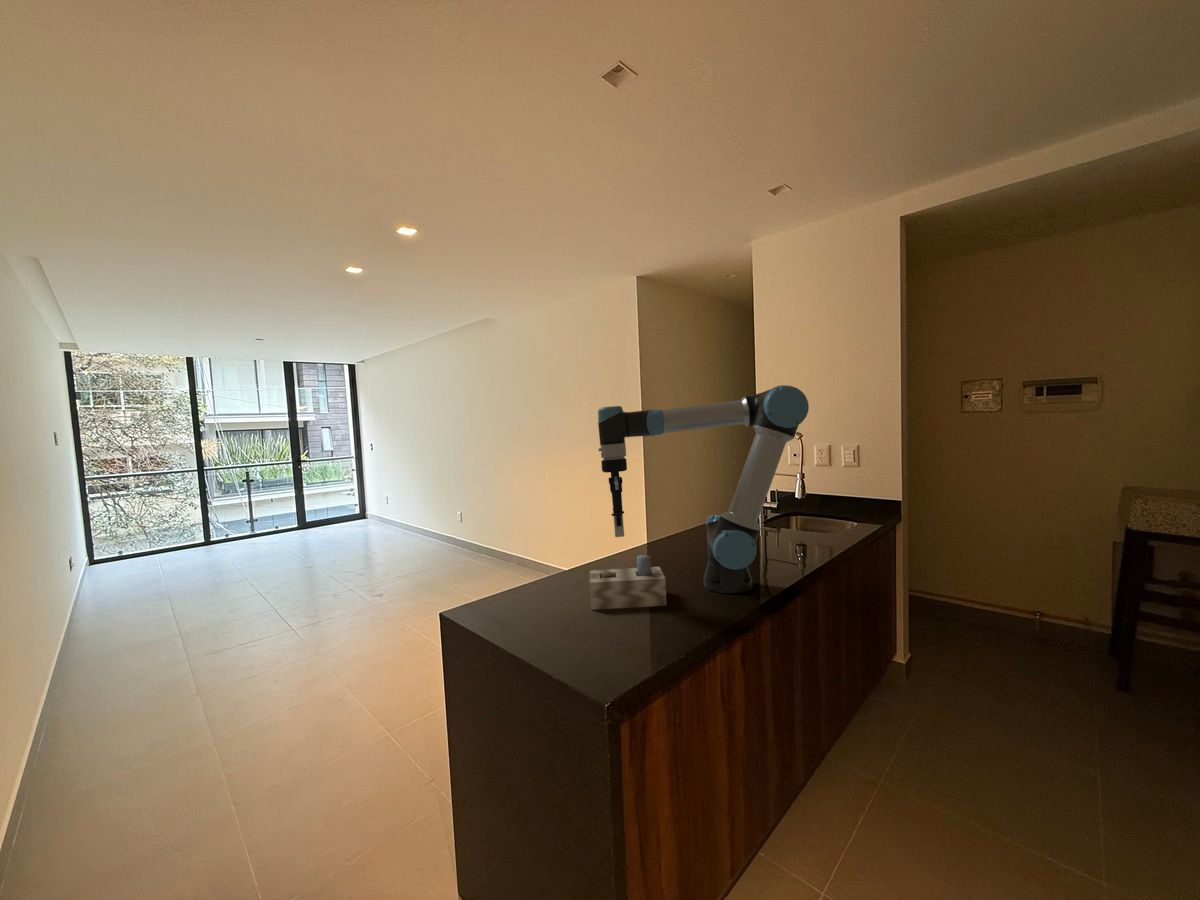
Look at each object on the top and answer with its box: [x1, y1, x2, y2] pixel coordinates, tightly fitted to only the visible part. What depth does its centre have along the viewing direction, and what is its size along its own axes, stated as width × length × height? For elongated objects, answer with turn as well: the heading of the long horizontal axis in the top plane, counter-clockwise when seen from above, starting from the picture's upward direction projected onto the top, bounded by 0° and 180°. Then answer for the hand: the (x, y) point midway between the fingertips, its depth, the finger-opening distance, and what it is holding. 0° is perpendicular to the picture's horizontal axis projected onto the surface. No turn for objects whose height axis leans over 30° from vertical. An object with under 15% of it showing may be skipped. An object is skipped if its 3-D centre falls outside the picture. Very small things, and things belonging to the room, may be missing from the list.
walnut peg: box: [601, 572, 615, 578], centre depth 144 cm, size 4×4×8 cm
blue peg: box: [636, 554, 652, 576], centre depth 144 cm, size 4×4×8 cm
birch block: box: [589, 566, 668, 611], centre depth 144 cm, size 22×12×8 cm, turn 91°
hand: (619, 536), depth 143 cm, fingers closed
